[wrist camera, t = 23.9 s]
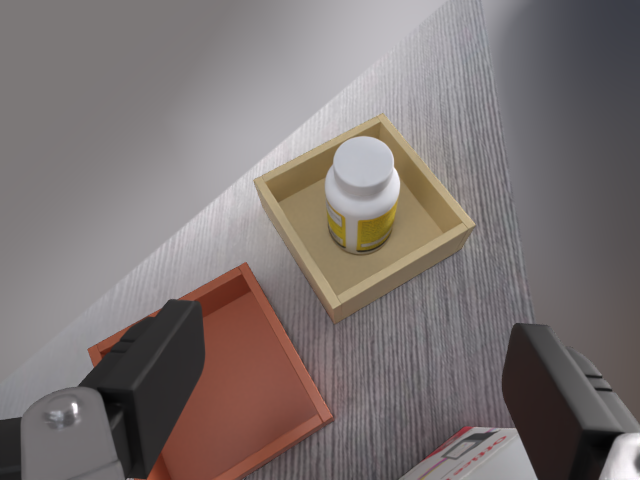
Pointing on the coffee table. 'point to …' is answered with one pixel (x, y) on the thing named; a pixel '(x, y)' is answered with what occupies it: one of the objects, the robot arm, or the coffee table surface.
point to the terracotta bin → (237, 388)
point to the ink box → (476, 457)
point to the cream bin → (400, 249)
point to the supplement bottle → (361, 195)
